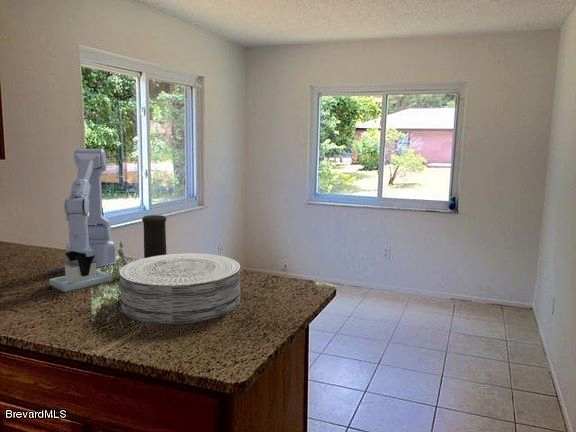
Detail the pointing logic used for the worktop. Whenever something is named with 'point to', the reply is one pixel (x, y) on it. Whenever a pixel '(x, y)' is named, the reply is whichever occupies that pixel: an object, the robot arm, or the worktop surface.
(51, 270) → the bay
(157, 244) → the container
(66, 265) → the block
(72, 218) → the robot arm
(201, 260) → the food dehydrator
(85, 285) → the tray
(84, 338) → the worktop surface
